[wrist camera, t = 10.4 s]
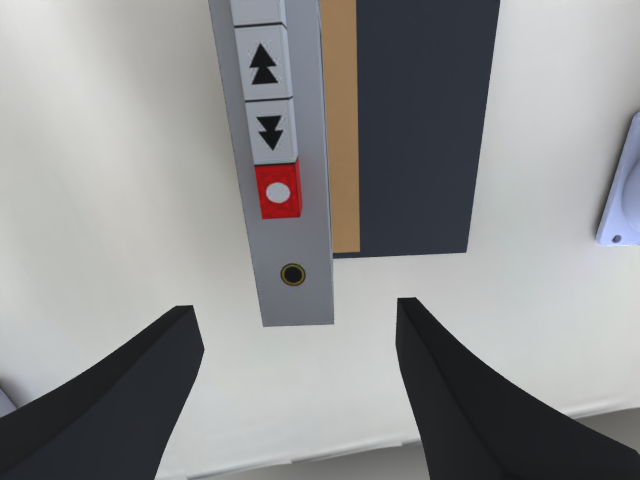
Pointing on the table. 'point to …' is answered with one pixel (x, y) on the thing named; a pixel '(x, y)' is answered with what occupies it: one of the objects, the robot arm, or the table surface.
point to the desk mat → (404, 121)
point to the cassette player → (280, 151)
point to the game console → (5, 405)
